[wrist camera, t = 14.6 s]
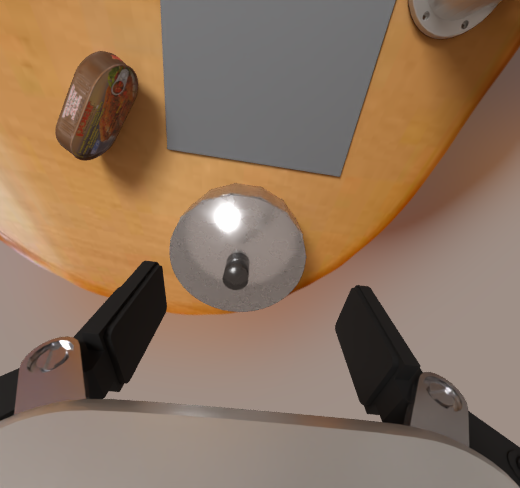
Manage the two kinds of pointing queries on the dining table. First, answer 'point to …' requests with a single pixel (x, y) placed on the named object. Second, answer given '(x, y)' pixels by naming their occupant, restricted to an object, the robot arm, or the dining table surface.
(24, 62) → the dining table surface
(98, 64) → the tin
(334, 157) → the rubber mat
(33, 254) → the dining table surface
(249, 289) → the lidded metal pot
